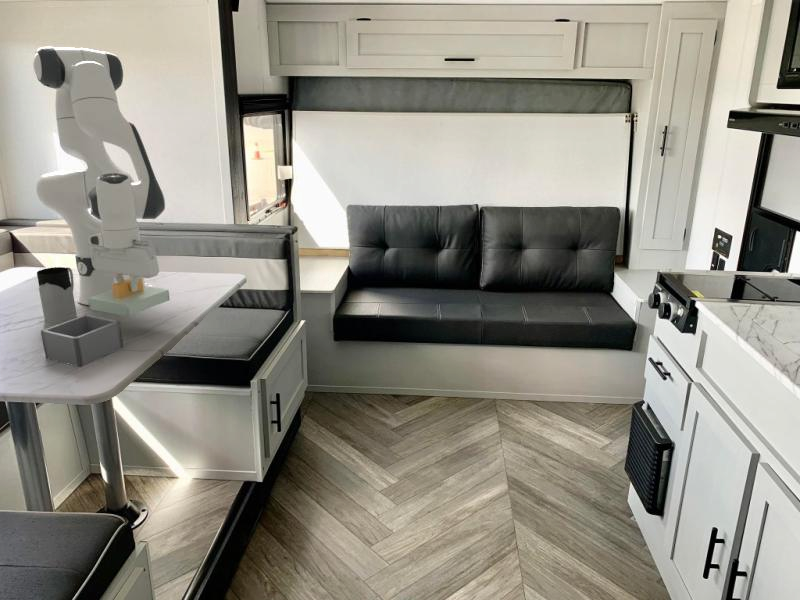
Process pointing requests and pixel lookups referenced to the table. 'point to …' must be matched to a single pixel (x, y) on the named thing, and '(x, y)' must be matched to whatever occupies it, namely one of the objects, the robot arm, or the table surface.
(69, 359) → the parts tub
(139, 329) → the table surface
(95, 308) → the lid
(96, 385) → the table surface
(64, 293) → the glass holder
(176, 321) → the table surface
